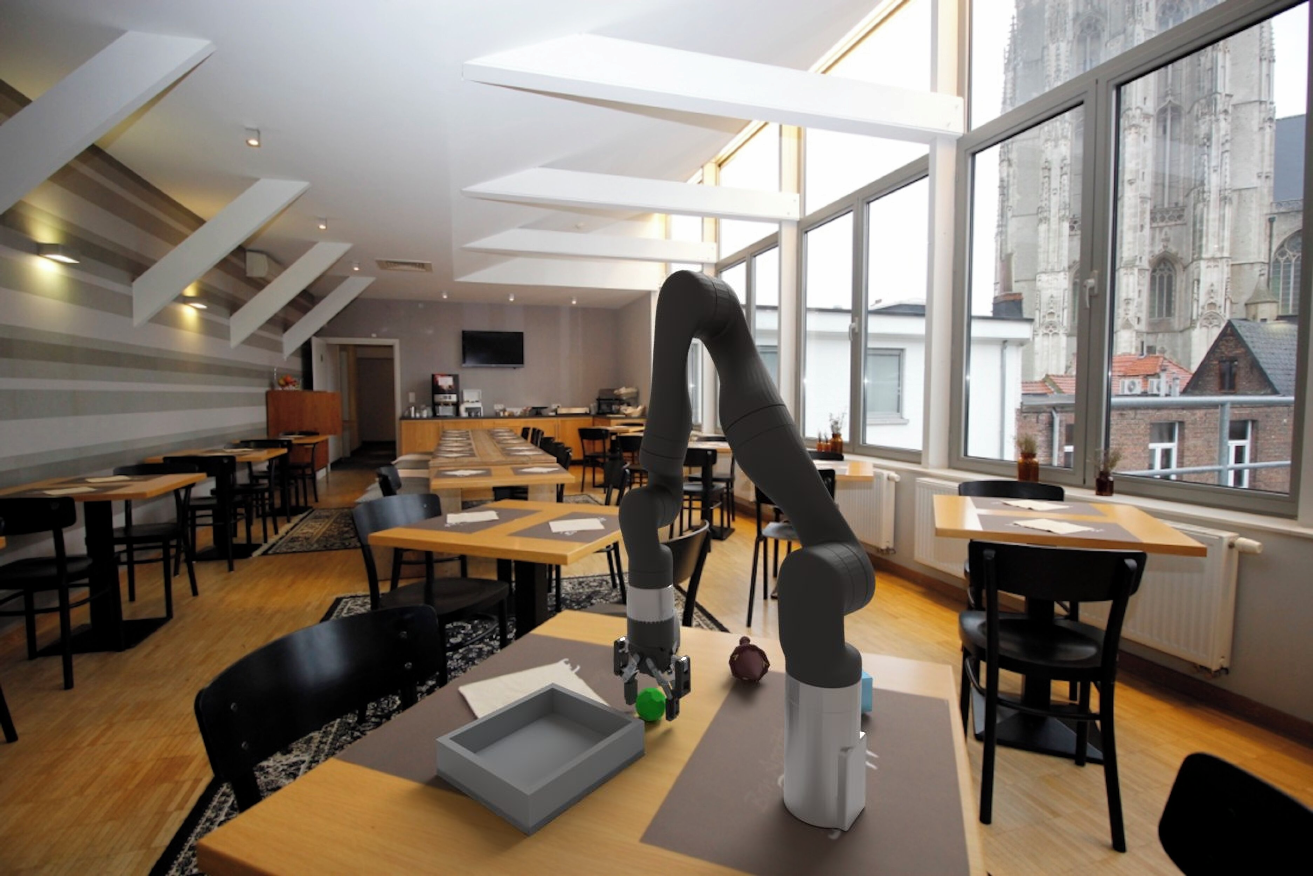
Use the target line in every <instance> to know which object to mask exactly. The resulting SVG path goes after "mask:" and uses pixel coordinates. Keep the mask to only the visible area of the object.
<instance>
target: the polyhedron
mask: <svg viewBox="0 0 1313 876" xmlns="http://www.w3.org/2000/svg"><path fill="white" fill-rule="evenodd" d="M665 698H666V695H665V693H664V692H662V691H661V690H660V689H658V688H657V687H654V686H653V687H651V686H650V687H645V688H643V689H642V690H641V691H640V692H638V696H637V699H636V703H634V706H635V707H634V708H635V710H636V713H637V714H638V716H639V717H640V718H641V719H642V720H643V721H646V722H655V721H659V720H660V719H661V718H662V717H664V716H665V715H664V714H665Z"/></svg>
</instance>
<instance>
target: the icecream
mask: <svg viewBox="0 0 1313 876" xmlns="http://www.w3.org/2000/svg"><path fill="white" fill-rule="evenodd" d="M738 644H739V645H737V646H735V647H734V649H733V651H732V652H731V654H730V655H729V660H728V665H729V669H730V672H731V675H732V676H733V677H734V678H735V679H737V680H739V681H740V682H742V683H744V684H747V683H746V682H749V683H758V682H760V681H761V680H762V679H763V677H764V676H765V675H766V674H768V672H769V669H770V666H771V664H770V660H769V658H768V657H767V653H766V651H764V650H763V649H762V648H760V647H759V646H757V644H753V643H751V639H750V637H748V636H746V635H743V636H741V638H739V642H738Z"/></svg>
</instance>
